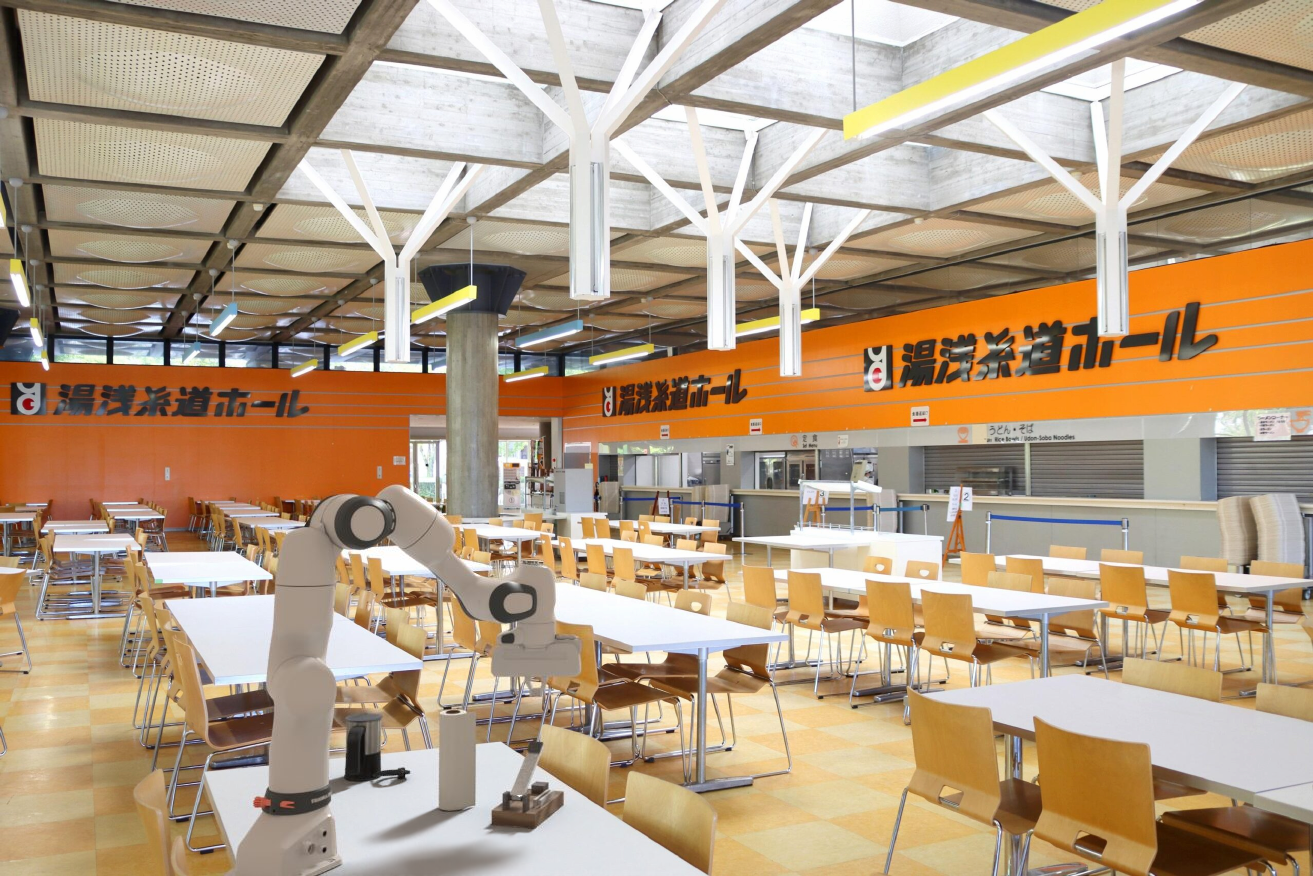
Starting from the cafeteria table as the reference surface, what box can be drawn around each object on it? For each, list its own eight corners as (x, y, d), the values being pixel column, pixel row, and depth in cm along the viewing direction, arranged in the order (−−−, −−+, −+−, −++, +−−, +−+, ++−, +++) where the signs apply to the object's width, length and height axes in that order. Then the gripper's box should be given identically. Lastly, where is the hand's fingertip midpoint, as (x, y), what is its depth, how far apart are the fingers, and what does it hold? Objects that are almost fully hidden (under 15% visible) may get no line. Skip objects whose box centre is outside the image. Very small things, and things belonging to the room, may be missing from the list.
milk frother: (344, 773, 258) (344, 713, 258) (407, 768, 262) (408, 710, 263) (343, 788, 244) (344, 726, 245) (411, 783, 249) (411, 721, 249)
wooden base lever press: (535, 828, 214) (535, 797, 215) (491, 824, 217) (491, 793, 217) (563, 804, 231) (563, 775, 231) (522, 801, 233) (523, 772, 234)
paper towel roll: (432, 809, 228) (433, 712, 229) (450, 802, 233) (451, 707, 234) (458, 814, 224) (459, 715, 225) (475, 806, 230) (476, 710, 231)
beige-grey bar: (522, 802, 217) (520, 797, 216) (509, 801, 218) (507, 796, 217) (544, 746, 230) (543, 741, 229) (532, 745, 230) (530, 740, 230)
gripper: (583, 632, 233) (584, 693, 232) (495, 632, 233) (495, 693, 233) (580, 636, 226) (580, 699, 225) (489, 636, 227) (489, 699, 226)
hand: (536, 696), depth 229 cm, fingers closed
